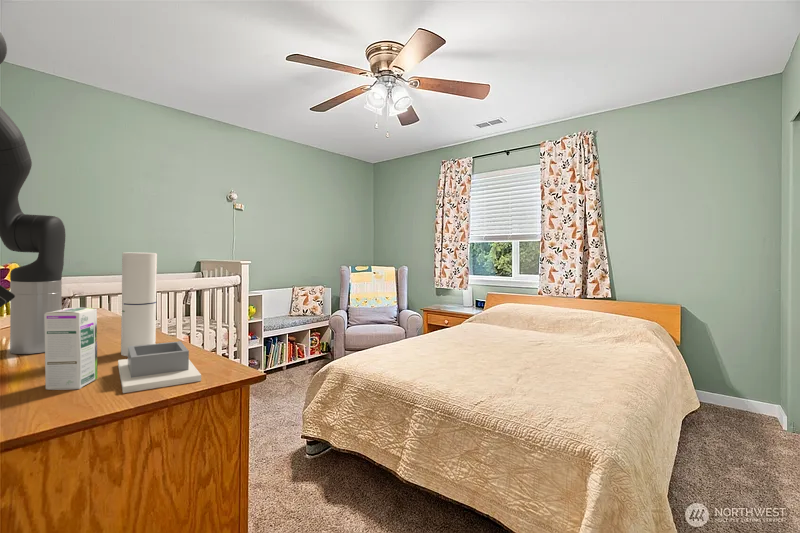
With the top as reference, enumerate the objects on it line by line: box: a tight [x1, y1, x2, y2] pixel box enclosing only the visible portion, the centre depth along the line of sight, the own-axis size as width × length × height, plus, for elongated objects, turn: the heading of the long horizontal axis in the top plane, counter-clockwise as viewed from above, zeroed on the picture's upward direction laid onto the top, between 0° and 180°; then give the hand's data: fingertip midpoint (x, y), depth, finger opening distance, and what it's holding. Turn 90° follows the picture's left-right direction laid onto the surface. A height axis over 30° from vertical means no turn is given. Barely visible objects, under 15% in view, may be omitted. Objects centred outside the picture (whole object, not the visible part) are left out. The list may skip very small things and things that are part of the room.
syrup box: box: [44, 306, 98, 391], centre depth 74 cm, size 6×6×14 cm
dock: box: [117, 340, 202, 394], centre depth 83 cm, size 20×13×5 cm, turn 38°
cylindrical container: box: [120, 251, 158, 357], centre depth 97 cm, size 7×7×25 cm
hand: (6, 303), depth 68 cm, fingers open, 8 cm apart
